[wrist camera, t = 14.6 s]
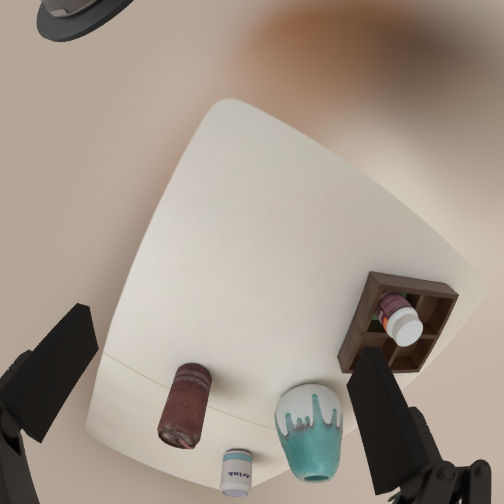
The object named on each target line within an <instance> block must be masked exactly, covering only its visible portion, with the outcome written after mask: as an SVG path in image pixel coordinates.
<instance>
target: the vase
mask: <svg viewBox="0 0 504 504" xmlns="http://www.w3.org/2000/svg"><path fill="white" fill-rule="evenodd" d="M275 426H276V430H277V434H278V437H279V440H280V442H281V445H282V447H283V449H284V451H285V454H286V457H287V460H288V463H289V466H290V468H291V471H292V472H293V474H294V475H295V476H296V477H297V478H298V479H299V480H300V481H303V482H307V483H322V482H326V481H329V480H331V479H332V477H333V476H334V474H335V473H336V471H337V468H338V465H339V460H340V451H341V440H342V433H343V410H342V405H341V402H340V400H339V398H338V397H337V395H336V394H335V393H334V392H333V391H332V390H330V389H329V388H327V387H325V386H322V385H318V384H304V385H300V386H297V387H294V388H292V389H291V390H289V391H288V392H286V393H285V394H284V395H283V396H282V398H281V399H280V400H279V402H278V404H277V406H276V410H275Z"/></svg>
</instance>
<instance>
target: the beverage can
mask: <svg viewBox="0 0 504 504" xmlns="http://www.w3.org/2000/svg"><path fill="white" fill-rule="evenodd" d="M252 458H253V457H252V455H251V454H249V453H248V452H246V451H244V450H239V449H235V450H231V451H229V452H226V453H225V454H224V457H223V466H222V474H221V483H220V487H221V489H222V491H223V494H225V495H227V496H232V497H244V496H247V495H248V492H249V491H250V490H251V482H252Z"/></svg>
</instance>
